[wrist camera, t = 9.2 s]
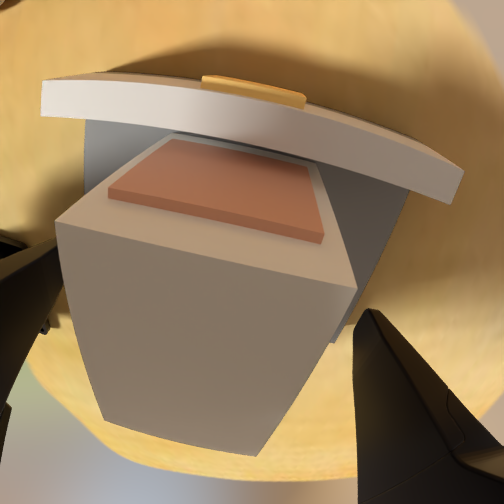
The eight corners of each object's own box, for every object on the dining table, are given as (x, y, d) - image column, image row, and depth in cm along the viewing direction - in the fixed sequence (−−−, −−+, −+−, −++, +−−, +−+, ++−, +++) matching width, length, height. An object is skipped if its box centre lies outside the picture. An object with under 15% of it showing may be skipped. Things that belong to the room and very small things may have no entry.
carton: (266, 317, 13) (256, 456, 8) (158, 293, 13) (104, 420, 8) (317, 157, 9) (362, 277, 4) (172, 126, 9) (53, 209, 4)
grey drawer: (101, 275, 14) (66, 326, 11) (105, 63, 9) (43, 69, 6) (332, 327, 14) (340, 389, 11) (417, 130, 9) (468, 160, 6)
